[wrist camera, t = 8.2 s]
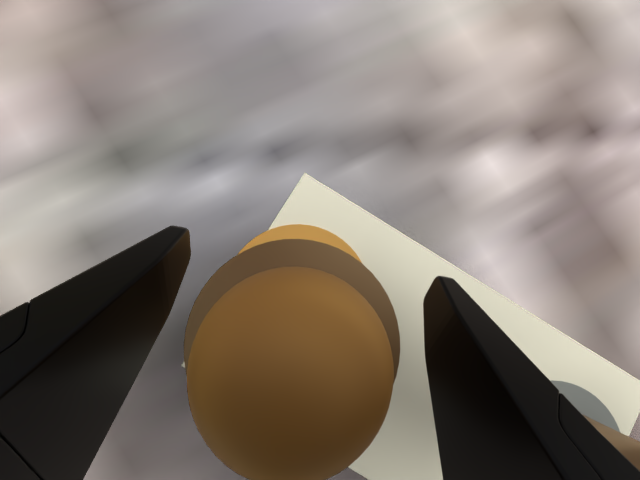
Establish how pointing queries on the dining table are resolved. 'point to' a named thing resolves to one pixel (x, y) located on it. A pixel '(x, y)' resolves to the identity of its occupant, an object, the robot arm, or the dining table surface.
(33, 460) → the robot arm
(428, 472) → the card
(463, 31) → the dining table surface
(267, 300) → the orange ball tube
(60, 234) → the dining table surface
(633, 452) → the grey ball tube
